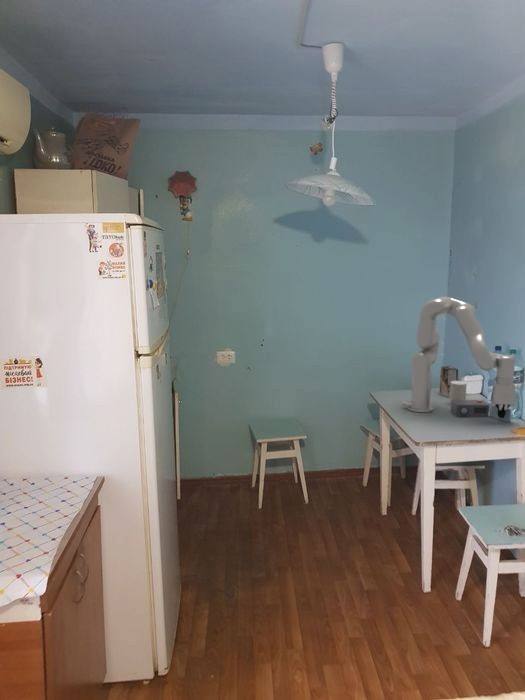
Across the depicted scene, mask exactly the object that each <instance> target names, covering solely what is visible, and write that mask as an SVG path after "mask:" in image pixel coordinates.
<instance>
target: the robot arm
mask: <svg viewBox="0 0 525 700" xmlns="http://www.w3.org/2000/svg"><path fill="white" fill-rule="evenodd" d="M445 314H447V315H448V316H449V315H450V316H452V317H454V319H455V322H457V324H458V326H459V328H460V330H461V332H462V333H463V335H464V337H465V340H466V341H467V346H468V347H469V350H470V353H471V355H472V358H473V359H474V361H475V362H476V364H477V366H478V367H479V368H480V369H481V370H483V371H487V372H489V371H491V370H494V368H496V373H495V374H496V376H495V377H493V378H492V381H493V382H494V383H493V387H492V389H491V396H490V401H491V402H490V405H492V406H496V407H497V408H498V416H499V417H500V418H504V416H505V411H506V410H507V409H509V408H510V407H515V403H516V399H517V398H516V396H517V395H516V384H515V383H514V375H515V365H516V357H515V356H514V355H510V354H500V353H495V352H491V351H489V349H488V347H487V345H486V343H485V334H484V333H485V332H484V329H483V328H482V326H481V325H480V323H479V321H478V319H477V318H476V308H475V307H474V305H472V304H470V303H468V302H466V301H462V300H459V299H455V298H452V297H450V296H440V297H437V298H433V299H431V300H428V301H427V302H426V303H424V304H423V306H422V307H421V309H420V313H419V320H418V325H417V333H416V344H417V345H418V346H419V350H417V351H416V352H415V353H414V354H413V356H412V358H411V371H412V374H411V377H412V378H411V398H410V399H409V400H407V401H405V400H404V401H402V400H401V405H402V406H406V407H407V409H408V410H409V411H412V412H415V413H431V412H433V411H434V408H433V406H432V405H431V394H432V393H431V391H432V368H431V367H432V365H433V364H435V363H436V361H437V357H438V353H439V348H440V347H439V346H440V340H441V339H440V332H438V331H439V330H437V329H436V327H437V318H438V316H441V315H445Z"/></svg>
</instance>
